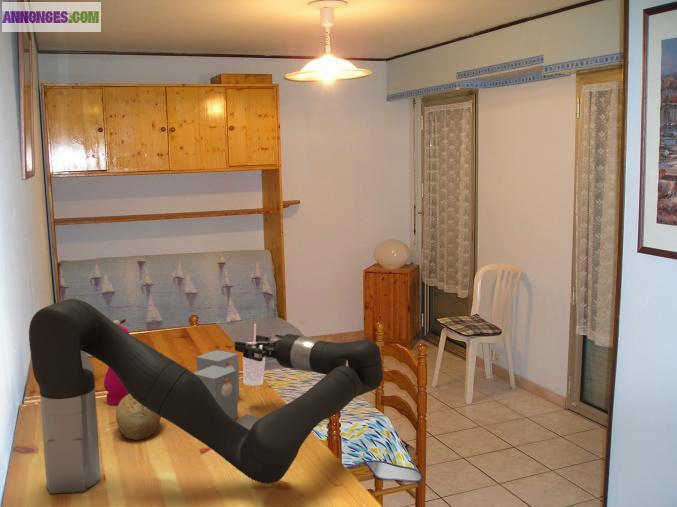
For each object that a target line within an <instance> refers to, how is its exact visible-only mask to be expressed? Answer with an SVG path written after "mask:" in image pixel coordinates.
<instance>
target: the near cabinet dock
mask: <svg viewBox="0 0 677 507" xmlns="http://www.w3.org/2000/svg"><path fill="white" fill-rule="evenodd" d="M193 373H194V374H195V375H197V376H198V377H199V378H200V379H201V380H202V382H203V383H204V384H205V385H206V387H207V388H208V389H209V391H210V392H211V394H212V395H213V397H214V398H215V400H216V401H217V403H218V404H219V405H220V407H221V408H222V409H223V411H224V412H225V413H226V414H227V415H228V416H229V417H231V418H232V419H233V420H235V421H236V422H238V423H239V424H241V425H242V426H244V427H245V428H247V429H249V430H250V429H251V428H252V426H253V424H254V423H255V422H256V421H257V420H259V419H260V418H261V417H259V416H255V415H251V414H246V415H244V416H242V417H240V418H238V417H239V412H238V408H239V407H238V399H237V374H236V370H233V369H228V368H223V367H218V366H214V365H213V366H210V367H208V368H205V369H202V370H199V371H197V370H196V371H194V372H193Z"/></svg>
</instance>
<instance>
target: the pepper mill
mask: <svg viewBox="0 0 677 507" xmlns="http://www.w3.org/2000/svg"><path fill="white" fill-rule="evenodd" d="M112 322H114V323H115V324H116V325H118V326H119V327H120V328H121V329H123V330H124V331H126V332H127V333H128V334H130V331H129V329H128V328H126V327H125V326H121V324H120V320H118V319H114V320H112ZM103 388H104V390H105V391H106V392H108V393H107V394H106V403H107V404H109V405H112V406H113V405H114V406H116V405H117V406H118V405H119V403H120V401H121V400H122V399H123V398H124V397H125V396H126V395H128V394H129V392H128V391H127V390H126V388H125V387H124V385H123V384H122V382H121V381H120V379H119V378H118V376H117V375H116V374H115V372H114V371H113V370H112V369H111V368H110V367H108V366H107V371H106V373H105V375H104V380H103Z"/></svg>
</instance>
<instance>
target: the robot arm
mask: <svg viewBox="0 0 677 507" xmlns="http://www.w3.org/2000/svg"><path fill="white" fill-rule="evenodd" d="M28 338H29V339H28V342H29V351H30V358H31V366H32V373H33V377H34V380H35V382H36V383H37V385H38V387H39V397H40V398H39V399H40V409H41V410H40V412H41V428H42V430H41V431H42V439H43V440H42V441H43V454H44V456H43V457H44V466H45V468H44V470H45V482H46V484H45V486H46V488H47V490H48V493H49V494H52V495H53V494H65V493H69V494H70V493H82V492H86V491H87V489H88V488H91V487H93V486H94V485H96V484H97V483H98V482H99V481H100V479H101V465H100V464H101V463H100V447H99V432H98V414H97V412H98V411H97V397H96V380H95V375H94V374H95V373H94V374H93V372H92V371H90V370H88V369H85V368H83V366H82V359H81V351H84V352H86V353H88V354H90V355H92V356H93V357H92V358H95V359H97V360H99V361H100V362H101V363H103V364H105V365H106V366H107V368H108V367H110V368H111V369H112V370H113V371H114V372H115V374H116V375H117V376H118V378H119V379H120V381H121V382H122V384H123V385H124V387H125V388H126V390H127V391H128V392H129V394H130V395H131V396H132V397H133V398H134V399H135V400H136V401H137V402H139V403H140V404H141V405H143V406H144V407H146V408H148V409H149V410H151V411H153V412H154V413H156V414H157V415H159V416H161V418H162V419H164V420H166V421H168V422H170V423H172V424H173V425H174V426H176V427H178V428H180V429H181V430H183V431H184V432H185V433H187V434H189V435H190V436H192V438H195V439H196V440H198V441H199V442H201V443H202V444H204V445H205V446H206V447H208V448H209V449H211V450H212V451H213V452H215V453H216V454H217V455H219V456H220V457H221V458H223V459H224V460H225V461H227V462H228V463H229V464H230V465H231V466H233V468H234V467H235V469H237V471H238V472H241V473H242V474H243V475H245V476H246V477H248V478H249V479H251V480H253V481H255V482H258V483H261V484H269V485H270V484H274V483H277V482H279V481H281V480H282V479H283V477H284V476H285V475H286V473H287V472H288V470H289V469H290V467H291V466H292V464H293V463H294V461H295V459H296V458H297V456H298V454H299V451H300V449H301V447H302V446H303V444H304V442H305V441H306V440H307V439H308V437H309V435H310V434H311V433H312V432H313V430H314V429H315V428H316V427H317V426H318V425H319V424H320V423H322V422H323V421H325V420H327V419H329V418H331V417H334V416H335V415H337V414H338V413H340V412H341V411H342V410H344V408H345V407H347V405H349V404H350V403H351V402H352V401H353V400H354V399H356V398H357V397H359V396H362V395H364V394H367V393H369V392H372V391H375V390H377V389H378V388H379V387H380V386H381V384H382V383H383V379H384V371H383V363H382V354H381V353H382V352H381V349H380V346H379V345H378V344H377V343H376V342H374V341H372V340H370V339H359V340H358V339H357V340H354V341H353V340H352V341H346V342H344V341H343V342H332V341H328V340H321V339H319V338H318V339H317V338H314V337H310V336H304V335H298V334H293V333H292V334H291V333H288V334H283V335H280V334H275V335H274V336H272V335H269V336H265V335H264V336H263V335H258V334H256V342H257V343H256V344H254V343H247V342H243V341H239V340H237V341H235V342H234V344H233V345H234V351H235V352H237V353H238V352H239V353H242V358H243V357H245V358H248V359H252V360H256V361H259V362H260V361H263V358H265V359H269V360H275V359H276V361H277V363H278V364H279V366H281V367H283V368H287V369H292V370H296V371H299V372H300V371H302V372H306V373H317V374H322V375H325V376H323V377H322V378H321V379H319V381H318V382H317V383H315V384H313V386H311V387H310V388H309V389H308V390H306V391H305V392H304V393H303V394H301V395H300V396H298V397H297V398H295V399H293V400H291V401H290V402H287V404H285V405H282V406H280V407H278V408H277V409H275V410H272V411H271V412H269V413H267V414H265V415H264V416H262V417H260V419H259V420H257V421H256V422H255V423H254V424H253V426H252V428H251V429H250V430H249V429H247V428H245V427H244V426H242V425H241V424H239V423H238V422H236V421H235V420H236V419H232V418H231V417H229V416H228V415H227V414H226V413H225V412H224V411H223V409H222V408H221V407H220V405H219V404H218V403H217V401H216V400H215V398H214V397H213V395H212V394H211V392H210V391H209V389H208V388H207V387H206V385H205V384H204V383H203V382H202V380H201V379H200V378H199V377H198V376H197V375H195V374H194V372H192V371H191V370H190V369H188V368H186V366H184V365H181V364H180V363H178V362H177V361H175V360H173V359H172V358H170V357H168V356H166V355H164V354H162V353H161V352H159V351H157V350H156V349H155V348H153V347H152V346H150V345H148V344H146V343H145V342H143V341H141V340H140V339H138V338H137V337H135V336H133V335H132V334H130V333H129V334H128V333H127V332H126V331H124V330H123V329H121V328H120V327H119V326H118V325H116V324H115V323H114V322H113V320H112V319H110V318H109V317H107V315H105V314H104V313H102V312H101V311H99V310H98V309H97V308H96V307H95V306H92V305H91V304H90V303H88V302H86V301H84V300H82V299H77V298H67V299H66V298H65V299H63V300H61V301H57V302H55V303H53V304H52V303H51V304H50V305H47V306H45V307H42V308H41V309H39V310H38V311H36V312H35V313H34V314H33V316H32V318H31V320H30V323H29V328H28ZM260 345H263V346H262V349H260ZM254 347H255V348H254Z"/></svg>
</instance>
